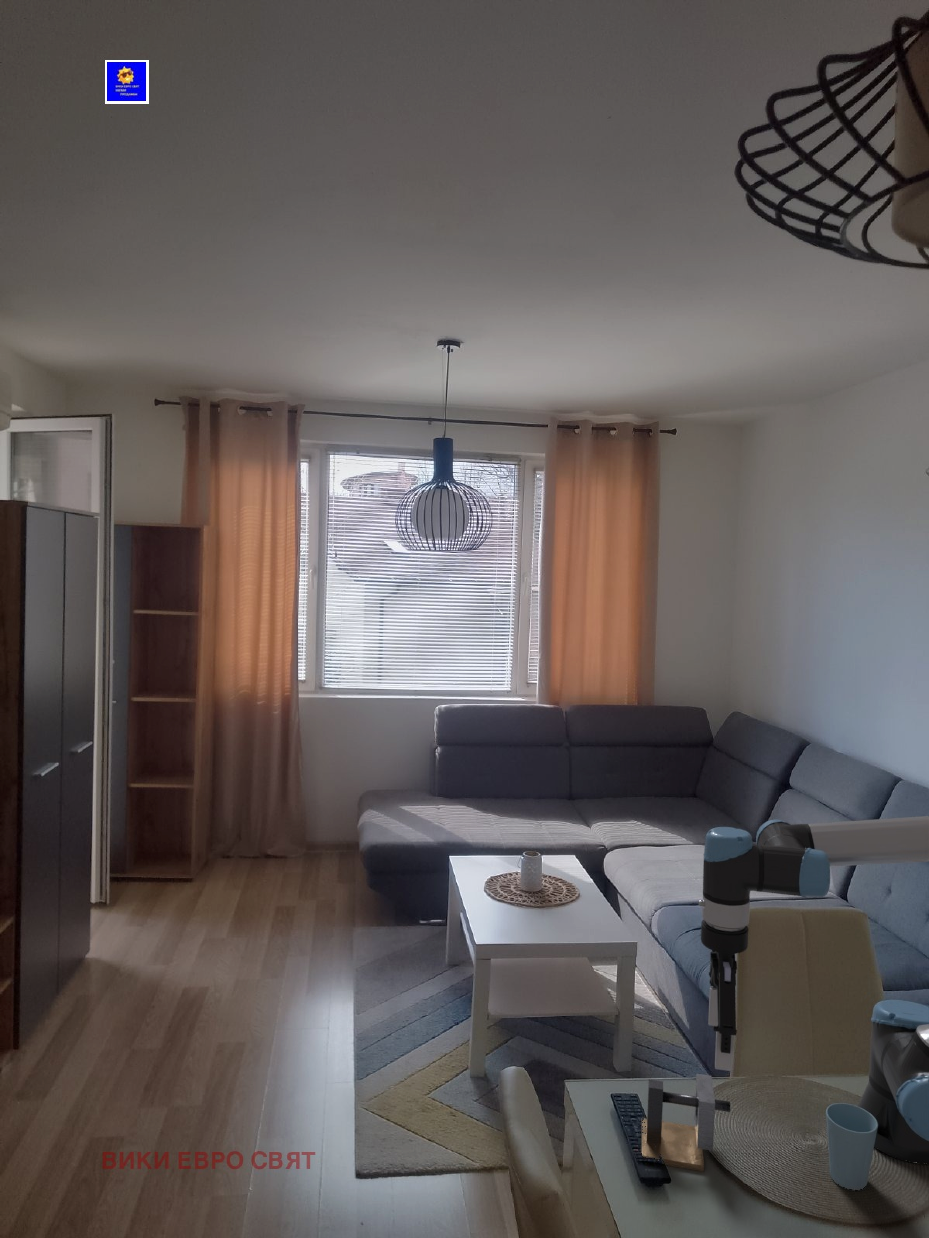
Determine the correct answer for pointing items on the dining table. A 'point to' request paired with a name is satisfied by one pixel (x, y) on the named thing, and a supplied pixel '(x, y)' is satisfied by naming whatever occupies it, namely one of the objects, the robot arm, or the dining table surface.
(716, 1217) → the dining table surface
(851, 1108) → the cup
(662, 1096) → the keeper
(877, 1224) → the dining table surface
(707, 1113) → the link
